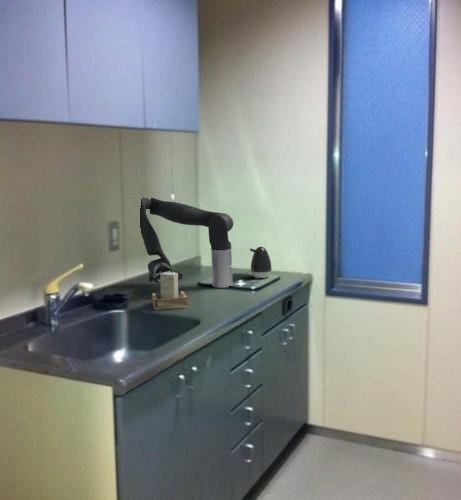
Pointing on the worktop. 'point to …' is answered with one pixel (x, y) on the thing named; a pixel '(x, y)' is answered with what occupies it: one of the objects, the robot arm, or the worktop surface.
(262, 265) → the pump dispenser
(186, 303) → the brown wooden tray
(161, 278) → the skincare box
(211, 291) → the worktop surface
